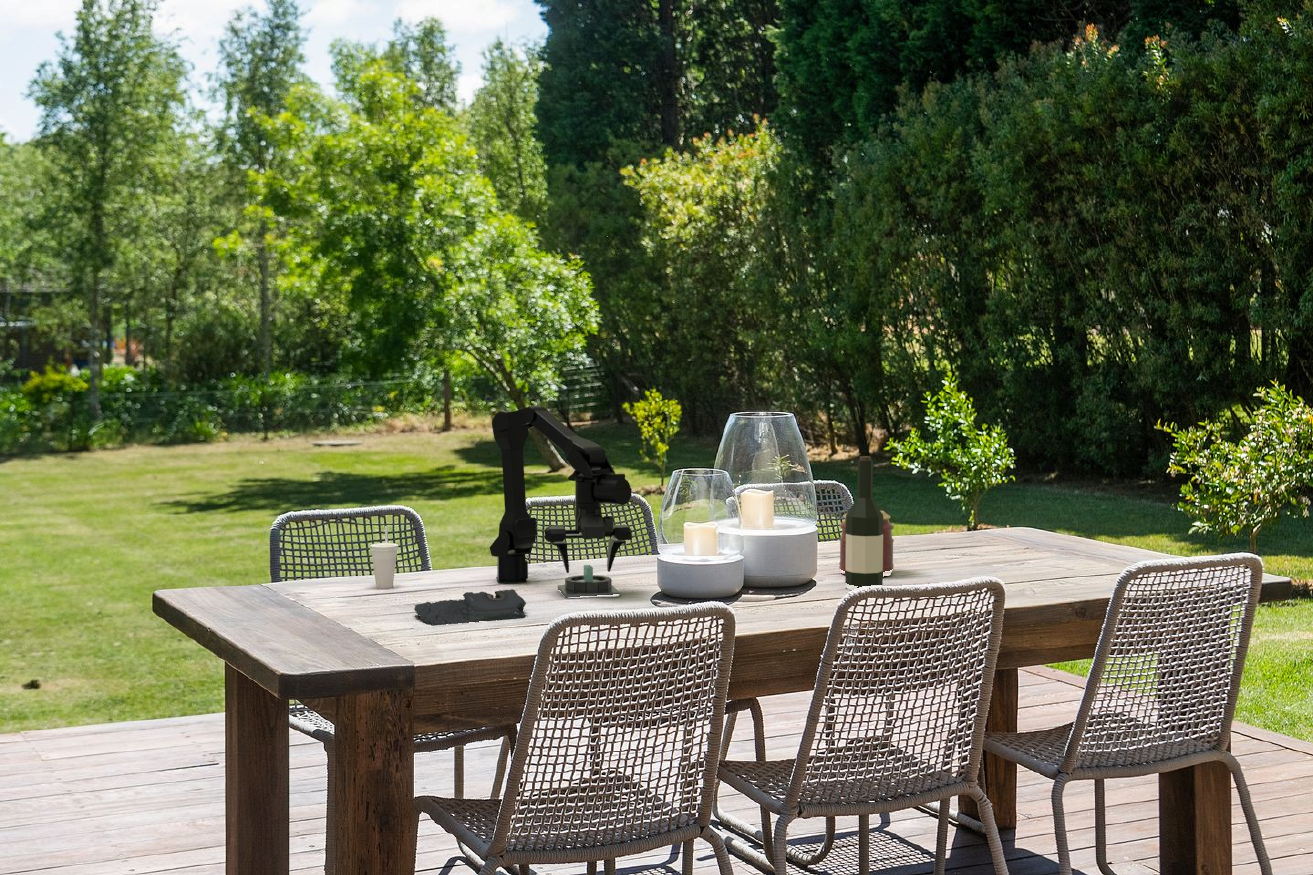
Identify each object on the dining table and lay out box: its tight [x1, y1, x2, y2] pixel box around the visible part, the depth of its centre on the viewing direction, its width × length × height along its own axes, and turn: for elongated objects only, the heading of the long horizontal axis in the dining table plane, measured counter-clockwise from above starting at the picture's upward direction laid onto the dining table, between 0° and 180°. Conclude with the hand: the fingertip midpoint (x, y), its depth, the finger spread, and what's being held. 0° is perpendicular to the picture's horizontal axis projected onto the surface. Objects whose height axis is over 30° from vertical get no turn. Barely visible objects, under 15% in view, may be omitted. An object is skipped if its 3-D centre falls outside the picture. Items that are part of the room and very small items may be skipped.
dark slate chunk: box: [413, 588, 528, 627], centre depth 269 cm, size 15×22×5 cm
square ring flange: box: [557, 574, 621, 599], centre depth 294 cm, size 12×12×3 cm
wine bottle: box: [844, 455, 884, 588], centre depth 300 cm, size 8×8×30 cm
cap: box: [578, 564, 599, 582], centre depth 294 cm, size 6×6×5 cm
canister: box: [838, 509, 895, 572], centre depth 320 cm, size 13×13×18 cm
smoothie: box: [369, 525, 399, 590], centre depth 301 cm, size 6×6×14 cm
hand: (588, 572), depth 294 cm, fingers open, 9 cm apart
